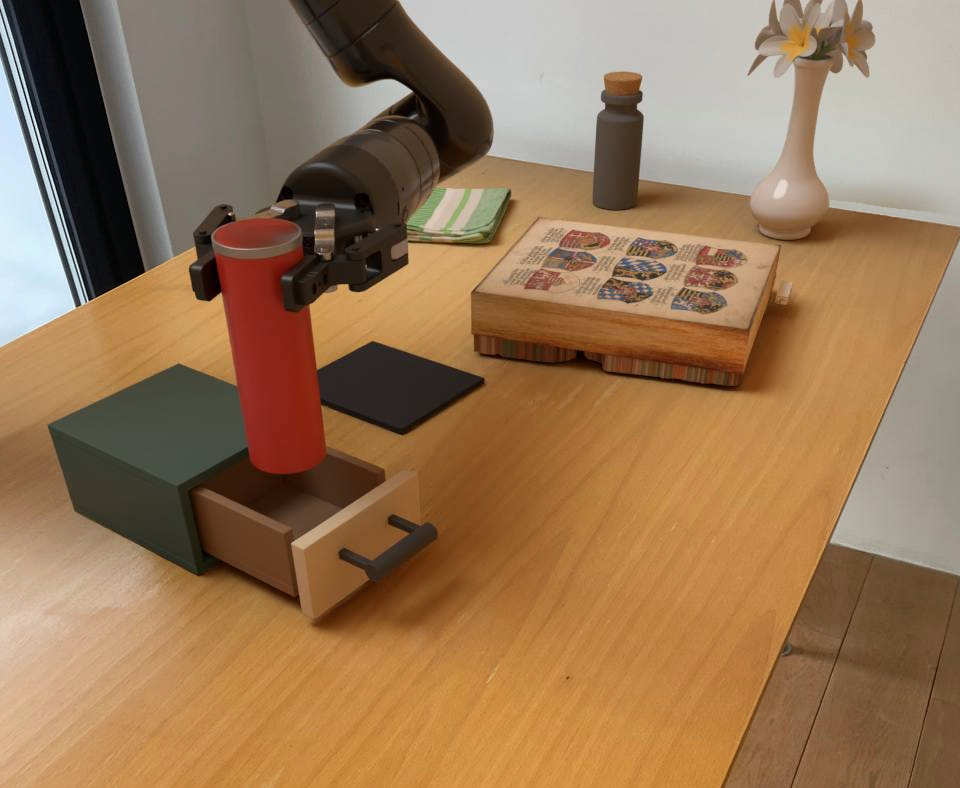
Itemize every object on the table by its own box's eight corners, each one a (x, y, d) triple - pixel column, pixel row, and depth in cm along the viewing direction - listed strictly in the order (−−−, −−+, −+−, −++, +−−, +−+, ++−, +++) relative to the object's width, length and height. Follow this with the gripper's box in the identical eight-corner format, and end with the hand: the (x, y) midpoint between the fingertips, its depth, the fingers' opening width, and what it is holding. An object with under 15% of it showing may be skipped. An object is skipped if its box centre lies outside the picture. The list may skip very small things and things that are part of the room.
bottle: (583, 200, 138) (589, 73, 128) (621, 193, 140) (629, 67, 130) (607, 213, 134) (616, 83, 124) (645, 205, 136) (656, 77, 126)
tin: (233, 458, 71) (192, 236, 61) (288, 427, 74) (257, 211, 65) (288, 483, 69) (254, 255, 59) (343, 450, 72) (320, 229, 62)
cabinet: (319, 499, 83) (307, 413, 78) (198, 576, 76) (177, 486, 71) (196, 445, 90) (178, 362, 85) (74, 510, 82) (46, 424, 77)
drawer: (464, 559, 75) (462, 490, 71) (357, 642, 68) (349, 570, 65) (291, 483, 83) (281, 418, 79) (181, 551, 76) (164, 483, 73)
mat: (287, 391, 97) (286, 385, 97) (373, 346, 105) (372, 340, 104) (401, 435, 91) (401, 429, 90) (484, 383, 98) (484, 377, 98)
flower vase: (833, 208, 134) (879, -20, 118) (837, 260, 120) (889, 10, 104) (730, 202, 136) (761, -23, 120) (722, 252, 123) (756, 7, 106)
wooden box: (791, 297, 113) (543, 265, 120) (803, 237, 109) (545, 208, 116) (759, 399, 95) (471, 355, 103) (771, 333, 91) (470, 292, 98)
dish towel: (491, 248, 125) (490, 225, 123) (302, 239, 128) (299, 216, 126) (511, 199, 138) (511, 178, 136) (340, 193, 141) (338, 171, 139)
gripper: (253, 135, 73) (121, 214, 61) (447, 151, 70) (350, 238, 57) (267, 243, 78) (148, 337, 66) (450, 263, 75) (361, 365, 62)
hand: (243, 290), depth 62 cm, fingers closed on tin, 5 cm apart
